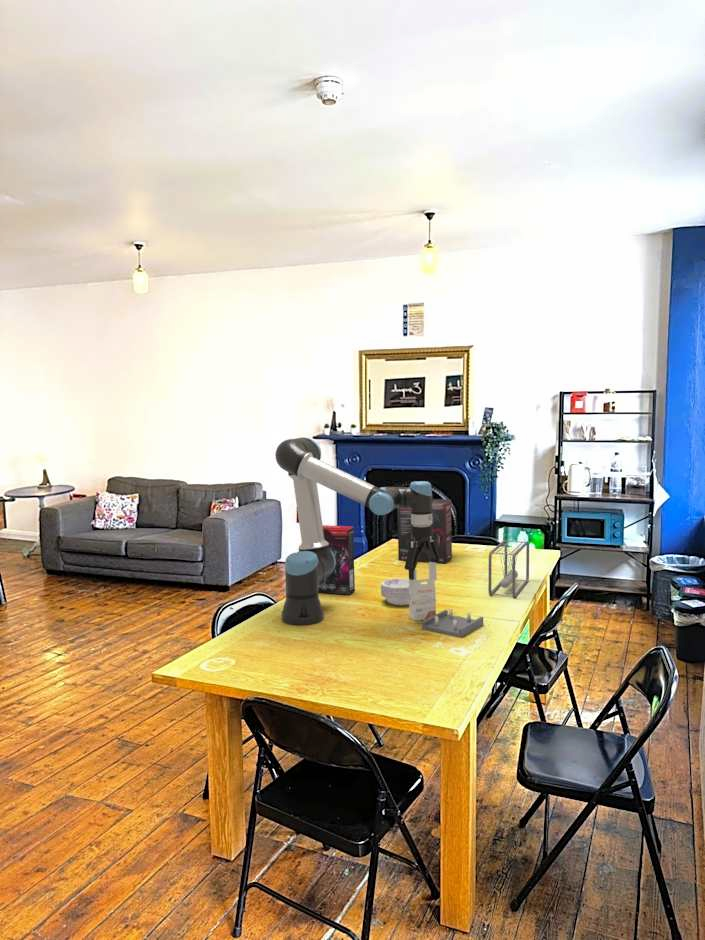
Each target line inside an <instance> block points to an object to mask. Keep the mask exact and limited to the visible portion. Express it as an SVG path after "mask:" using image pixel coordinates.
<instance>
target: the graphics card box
mask: <svg viewBox="0 0 705 940" xmlns="http://www.w3.org/2000/svg"><path fill="white" fill-rule="evenodd" d="M322 526H323V533H324V539H325V540H326V541H327V542H328V543H329V547H330V550H331V551H332V552H333V554H334V556H335V559H336V565H335V568H334V570H333V572H332V573H331V574H330V575H329V576H328V577H327V578H326V579H323V580H322V581H320V582H319V583H318V593H321V594H322V593H323V594H337V595H348V596H349V595H351V594H353V593H354V592H355V591H356V590H355V589H356V588H355V587H356V585H355V580H356V579H355V578H356V577H355V549H354V548H355V547H354V543H355V541H354V538H355V537H354V528H355V527H354V526H353V525H352V526H346V525H344V526H343V525H325V524H322Z"/></svg>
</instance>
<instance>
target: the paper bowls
mask: <svg viewBox="0 0 705 940" xmlns="http://www.w3.org/2000/svg"><path fill="white" fill-rule="evenodd" d="M380 596H381V597H383V598H384V599H386V601H387V603H389V604H390V605H393V606H394V605H395V606H409V578H391V579H386V580H384V581H382V582H381V583H380Z"/></svg>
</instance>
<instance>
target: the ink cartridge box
mask: <svg viewBox="0 0 705 940" xmlns="http://www.w3.org/2000/svg"><path fill="white" fill-rule="evenodd" d="M435 581H436V580H435V579H434V578H431V579H429V578H420V579H417V589H413V588H409V605H408V610H409V615H408V616H409V618H410V619H411V620H413V621H414V622H415V621H416V622H417V621H424V620H426V619H428V618H430V617H432V616H434V615H436V614H437V610H436V607H437V605H436V604H437V602H436V601H437V599H436V597H437V595H436V582H435ZM423 582H424V583H423Z"/></svg>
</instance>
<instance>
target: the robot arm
mask: <svg viewBox="0 0 705 940" xmlns="http://www.w3.org/2000/svg"><path fill="white" fill-rule="evenodd" d="M274 456H275V461H276V463H277V465H278V466H279V467H280V468H281V469H282V470H283V471H285V472H287V474H288V477H289V478H291V480H292V482H293V488H294V496H295V503H296V510H297V517H298V524H299V531H300V532H299V533H300V537H301V538H300V539H301V543H300V545H299V546H298V551H296V552H293V553H292V552H291V553H290V554H288V555H287V556H286V558H285V563H284V572H285V601H284V603H283V607H282V611H281V621H282V622H284V623H285V624H290V625H296V626H297V625H298V626H303V625H304V626H305V625H313V624H318V623H319V622H322V621H323V620H324V618H325V614H324V609H323V608H322V605H321V601H320V598H319V597H320V596H319V592H318V583H319V582H320V581H322V580H323V579H326V578H327V577H328V576H329V575H330V574H331V573H332V572H333V570H334V568H335V565H336V559H335V556H334V554H333V552H332V551H331V550H330V547H329V543H328V542H327V541H326V540H325V539H324V533H323V526H322V525H323V520H322V511H321V505H320V497H319V491H318V484H320V485H321V486H324V487H326V488H327V489H330V490H331V491H333V492H336V493H338V494H339V495H342V496H344V497H346V498H348V499H350V500H353V501H354V502H357V503H359V504H361V505H363V506H365V507H367V508H369V510H370V511H371V512H372V513H373V514H375V515H377V516H384V515H387V514H389V513H391V512H392V511H394V510H395V509H397V508H411V524H412V525H413V526H412V527H411V534H412V536H413V537H414V538H415V540H414V542H412V541H410V542H409V550H408V554H407V559H406V561H405V564H404V569H405V571H407V570H408V579H409V588H413V589H417V580H418V579H417V578H418V577H417V575H418V574H417V573H418V572H417V569H416V568H417V566H418V560H419V557H420V555H421V554H422V553H423V552H424V551H425V552H426V554H427V556H428V558H429V559H430V561H431V562H428V579H431V578H434V579H435V581H438V579H437V577H438V575H437V563H436V562H439V559H440V556H439V553H438V549H437V546H436V543H435V536H432V535H433V526H432V525H431V524H432V519H433V517H432V495H433V492H432V484H431V482H429V481H425V480H423V481H422V480H420V481H417V480H416V481H412V482H411V483H410V486H407V487H405V486H404V487H401V486H399V487H398V486H384V487H383V486H382V487H378V486H375V485H373V484H371V483H369V482H367V481H364V480H362V479H361V478H359V477H356V476H355V475H352V474H350V473H348V472H346V471H344V470H342V469H339V468H337V467H335V466H333V465H331V464H329V463H327V462H324V461H323V460H321V458H322V451H321V448H320V445H319V444H318V443H317V442H316V441H315V440H314V439H312V438H309V437H297V438H288V439H285V440H283V441H281V443H279V444H278V446H277V447H276V449H275V455H274ZM416 549H417V550H416ZM435 555H436V556H435Z"/></svg>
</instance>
